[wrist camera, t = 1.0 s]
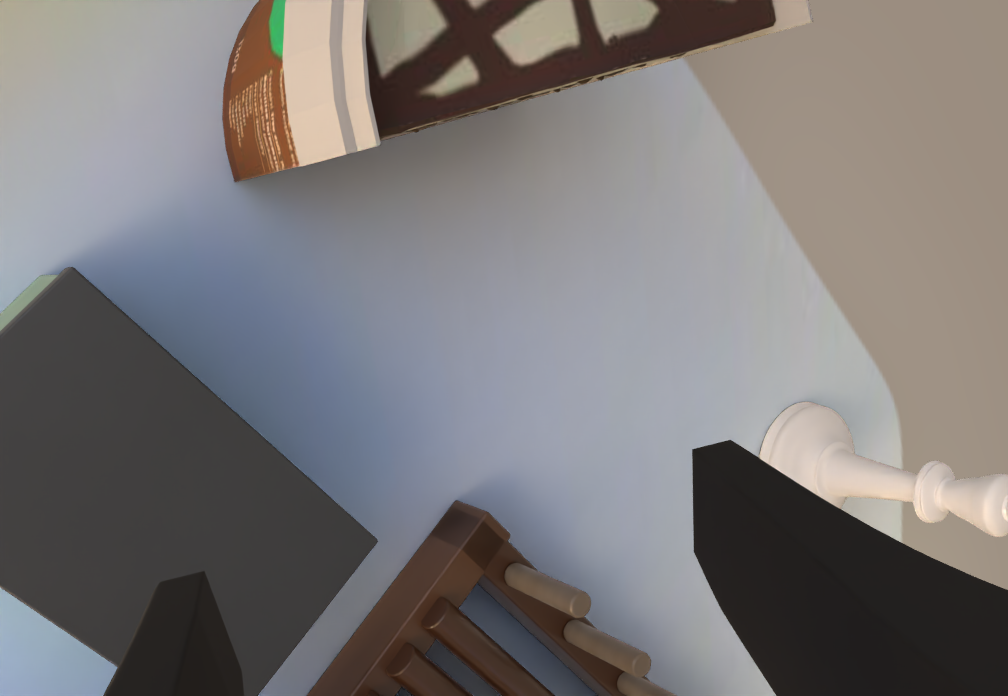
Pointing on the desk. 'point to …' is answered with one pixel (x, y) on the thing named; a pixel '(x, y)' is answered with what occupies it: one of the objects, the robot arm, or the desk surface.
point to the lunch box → (149, 488)
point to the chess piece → (876, 472)
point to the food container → (444, 63)
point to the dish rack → (435, 616)
